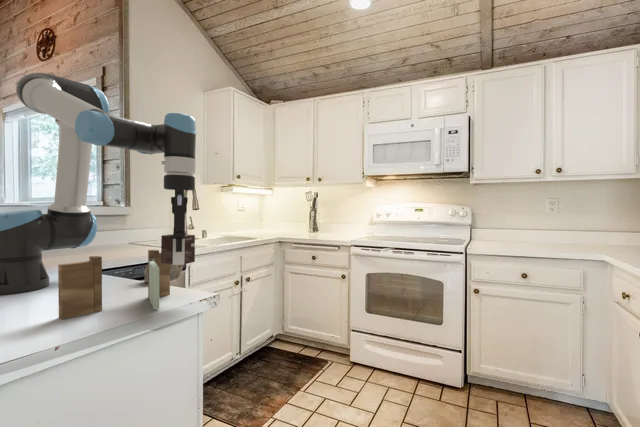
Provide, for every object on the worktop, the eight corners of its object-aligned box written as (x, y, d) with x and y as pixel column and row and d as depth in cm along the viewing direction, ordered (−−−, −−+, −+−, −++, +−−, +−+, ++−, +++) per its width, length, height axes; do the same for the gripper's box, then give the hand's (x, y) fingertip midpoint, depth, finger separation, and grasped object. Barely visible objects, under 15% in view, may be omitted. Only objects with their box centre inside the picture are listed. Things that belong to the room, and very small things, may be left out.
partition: (58, 317, 77) (57, 260, 77) (165, 293, 99) (165, 248, 99) (63, 319, 76) (62, 261, 76) (170, 294, 98) (170, 249, 97)
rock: (144, 281, 108) (154, 250, 111) (139, 281, 113) (148, 251, 116) (182, 288, 115) (190, 259, 118) (176, 287, 120) (184, 259, 123)
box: (178, 266, 86) (179, 236, 86) (160, 263, 88) (160, 235, 88) (195, 262, 92) (195, 234, 92) (177, 260, 94) (177, 233, 94)
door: (148, 299, 92) (148, 258, 92) (153, 298, 93) (153, 258, 93) (153, 311, 82) (153, 265, 82) (159, 310, 83) (159, 265, 83)
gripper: (165, 176, 98) (164, 255, 99) (162, 171, 78) (161, 270, 79) (193, 177, 101) (191, 254, 101) (197, 173, 81) (195, 268, 82)
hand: (178, 261), depth 90 cm, fingers closed on box, 8 cm apart
